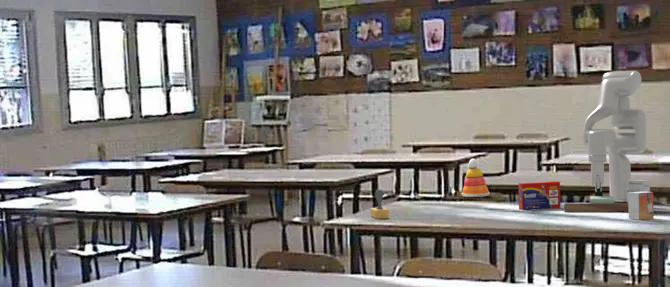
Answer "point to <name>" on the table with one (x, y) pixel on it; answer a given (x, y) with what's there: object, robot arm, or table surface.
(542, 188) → the toy box
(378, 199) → the rubber stamp
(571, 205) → the walnut board
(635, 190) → the ink box
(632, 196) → the small box
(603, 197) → the green block
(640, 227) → the table surface
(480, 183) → the stacking toy
